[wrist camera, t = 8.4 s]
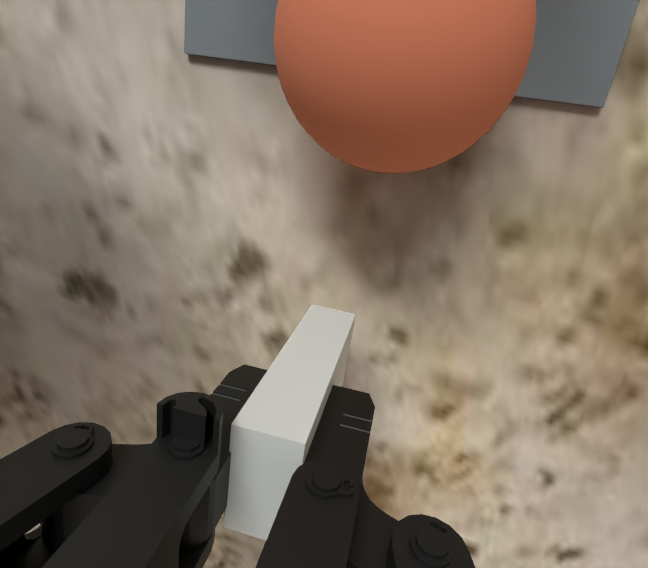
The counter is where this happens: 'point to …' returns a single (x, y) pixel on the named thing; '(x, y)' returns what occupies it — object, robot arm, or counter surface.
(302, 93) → the ball
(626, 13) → the plate
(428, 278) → the counter surface
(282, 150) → the counter surface
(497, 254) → the counter surface
